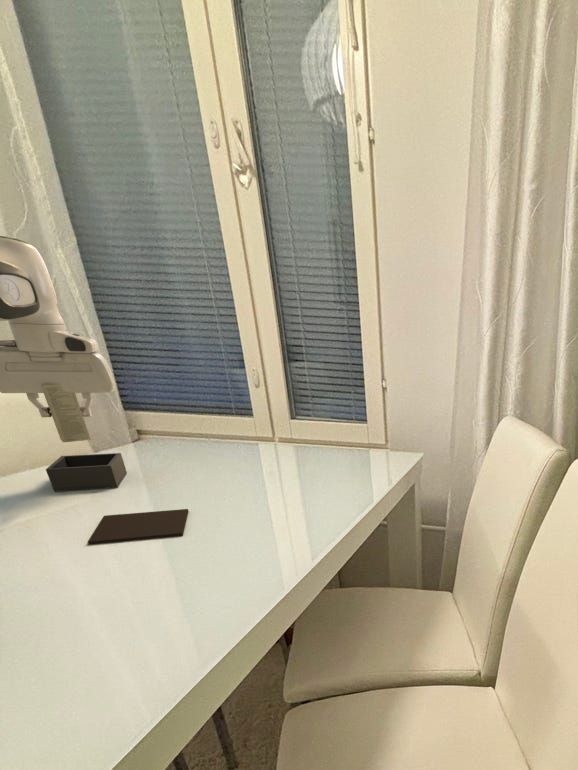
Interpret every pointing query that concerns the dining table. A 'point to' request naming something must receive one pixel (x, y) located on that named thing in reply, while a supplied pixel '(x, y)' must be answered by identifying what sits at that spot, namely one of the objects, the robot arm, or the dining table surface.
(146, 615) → the dining table surface
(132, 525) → the mat
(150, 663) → the dining table surface
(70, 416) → the box
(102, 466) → the bin
